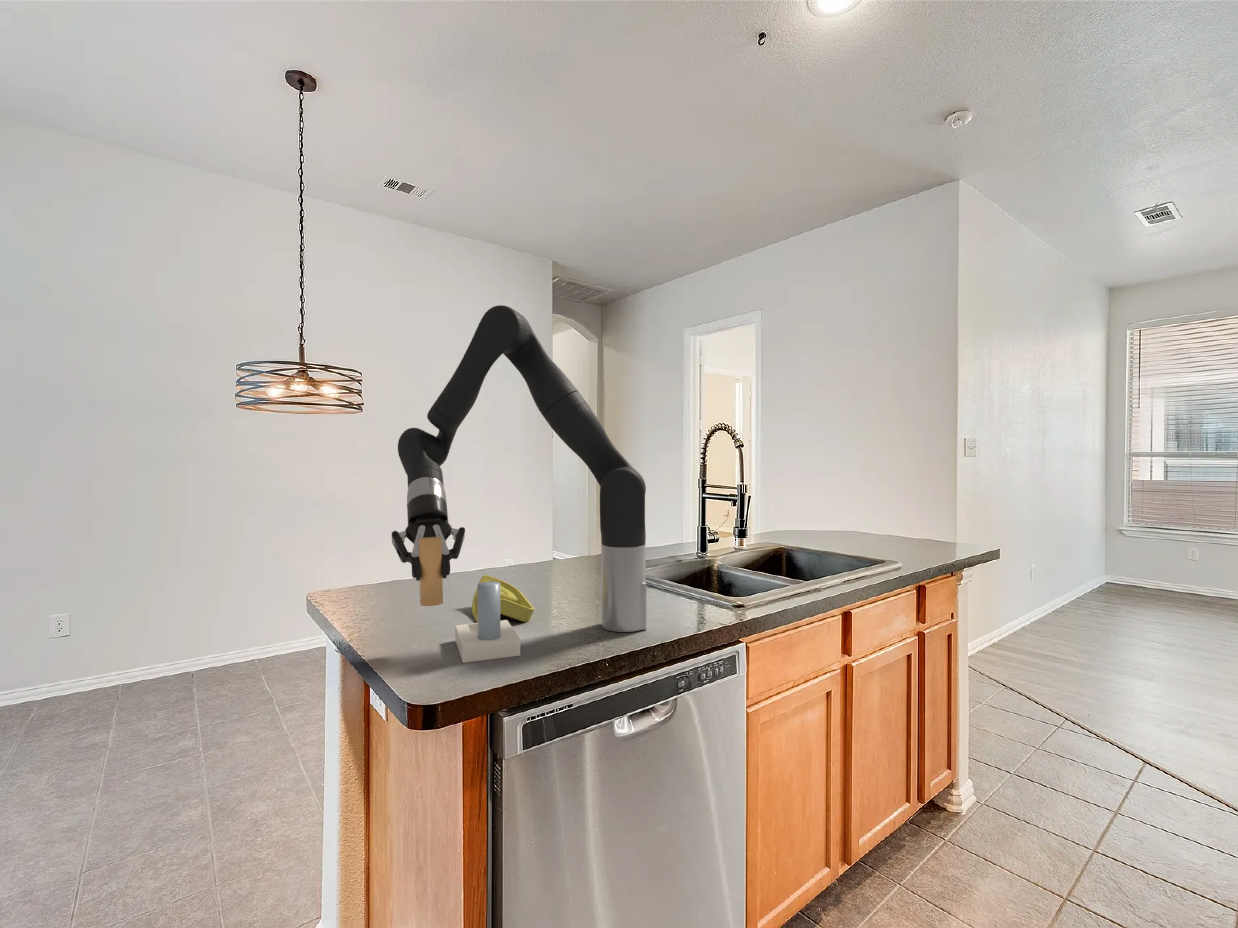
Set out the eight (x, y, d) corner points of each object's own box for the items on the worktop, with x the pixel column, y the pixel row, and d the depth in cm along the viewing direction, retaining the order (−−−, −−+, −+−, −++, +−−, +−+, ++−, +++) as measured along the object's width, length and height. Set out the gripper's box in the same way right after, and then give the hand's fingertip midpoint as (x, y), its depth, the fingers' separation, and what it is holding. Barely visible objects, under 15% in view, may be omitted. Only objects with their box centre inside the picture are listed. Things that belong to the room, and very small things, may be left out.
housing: (455, 640, 112) (455, 575, 112) (507, 634, 116) (506, 571, 115) (462, 662, 100) (462, 589, 100) (520, 655, 103) (520, 585, 103)
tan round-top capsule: (445, 600, 109) (444, 536, 109) (439, 605, 105) (437, 539, 105) (424, 600, 109) (422, 537, 108) (417, 606, 105) (415, 540, 104)
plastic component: (537, 611, 125) (495, 595, 121) (522, 643, 124) (479, 628, 120) (516, 586, 143) (479, 571, 139) (502, 613, 142) (465, 599, 138)
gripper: (388, 494, 111) (389, 568, 100) (464, 491, 116) (473, 561, 105) (389, 519, 116) (390, 592, 105) (462, 515, 121) (470, 584, 110)
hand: (431, 576), depth 105 cm, fingers closed on tan round-top capsule, 4 cm apart
